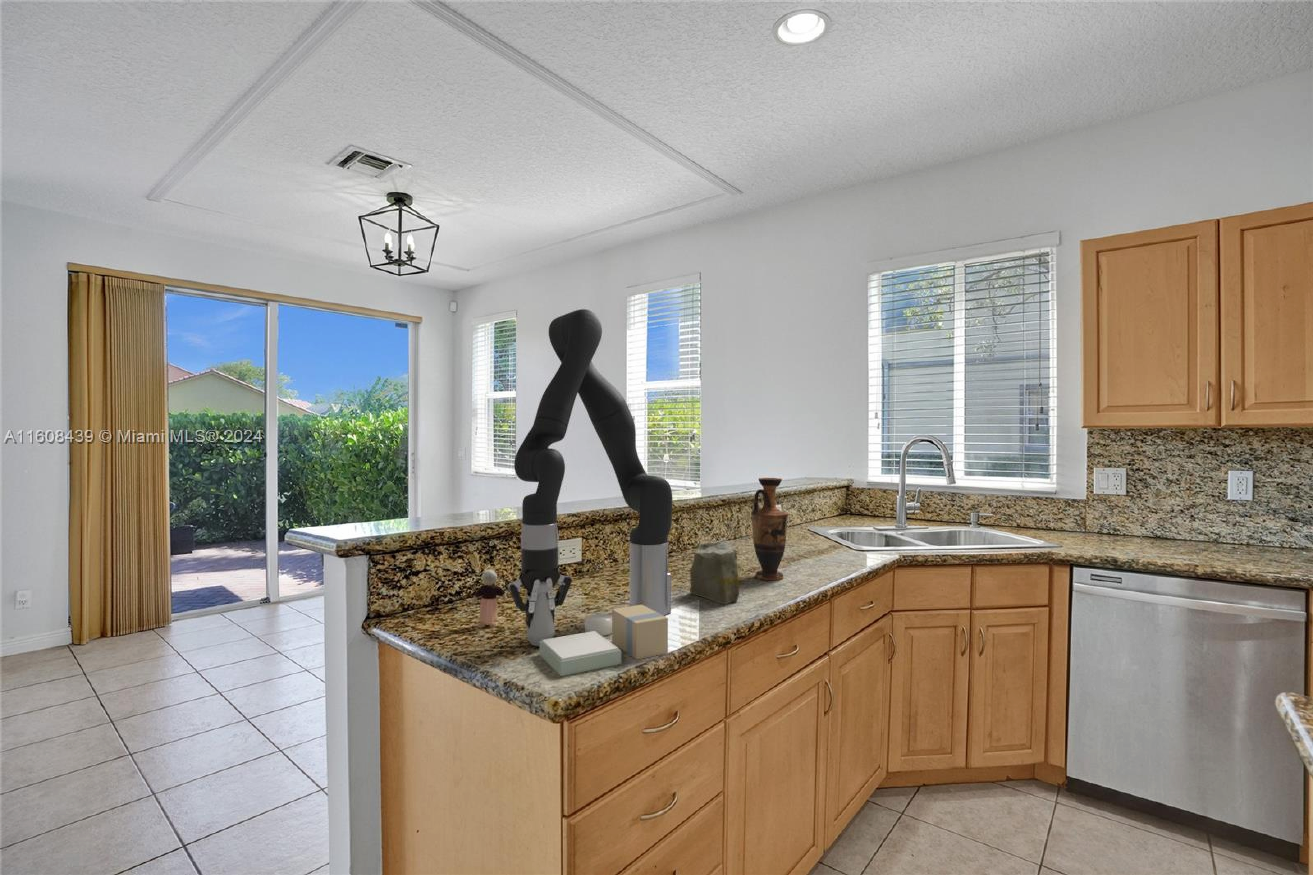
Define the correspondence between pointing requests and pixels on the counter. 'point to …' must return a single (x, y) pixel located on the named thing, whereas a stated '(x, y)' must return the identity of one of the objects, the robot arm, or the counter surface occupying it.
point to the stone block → (715, 572)
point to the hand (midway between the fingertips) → (540, 627)
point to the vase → (769, 531)
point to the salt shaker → (541, 618)
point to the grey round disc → (599, 624)
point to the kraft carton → (640, 631)
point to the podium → (579, 653)
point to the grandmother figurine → (488, 599)
